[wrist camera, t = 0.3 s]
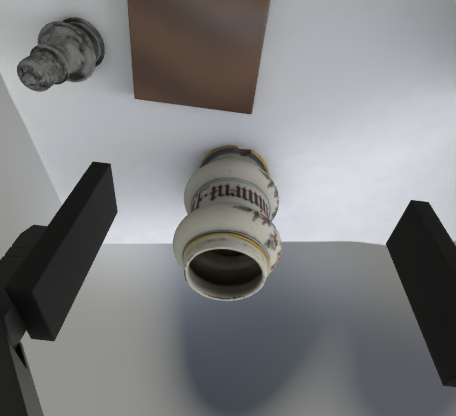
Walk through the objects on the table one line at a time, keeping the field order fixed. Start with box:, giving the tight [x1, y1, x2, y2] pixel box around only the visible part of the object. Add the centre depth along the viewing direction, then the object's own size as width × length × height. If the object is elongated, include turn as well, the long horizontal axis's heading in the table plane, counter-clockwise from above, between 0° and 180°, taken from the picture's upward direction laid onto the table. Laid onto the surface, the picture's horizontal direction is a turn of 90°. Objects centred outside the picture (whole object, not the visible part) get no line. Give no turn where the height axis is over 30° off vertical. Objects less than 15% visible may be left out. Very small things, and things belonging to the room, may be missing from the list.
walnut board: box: [128, 0, 270, 114], centre depth 34 cm, size 20×14×1 cm
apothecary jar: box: [173, 146, 282, 301], centre depth 41 cm, size 12×12×18 cm
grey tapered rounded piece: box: [17, 18, 104, 92], centre depth 33 cm, size 6×6×12 cm
